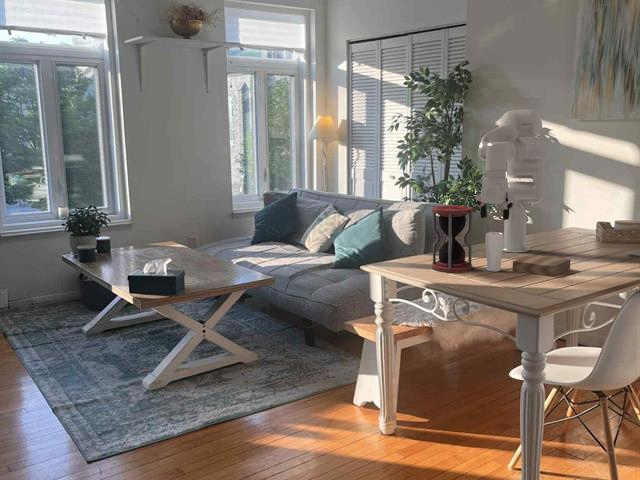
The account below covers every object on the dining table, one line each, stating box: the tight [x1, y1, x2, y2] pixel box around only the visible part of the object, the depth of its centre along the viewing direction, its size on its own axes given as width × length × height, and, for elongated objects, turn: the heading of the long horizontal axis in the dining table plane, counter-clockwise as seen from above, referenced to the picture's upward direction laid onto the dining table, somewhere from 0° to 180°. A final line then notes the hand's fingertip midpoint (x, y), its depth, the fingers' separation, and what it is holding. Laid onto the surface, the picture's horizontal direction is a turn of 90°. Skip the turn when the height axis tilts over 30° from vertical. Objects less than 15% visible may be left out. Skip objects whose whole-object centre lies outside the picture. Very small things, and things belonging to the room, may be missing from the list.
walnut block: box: [512, 254, 571, 277], centre depth 248 cm, size 16×16×4 cm
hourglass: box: [431, 204, 474, 273], centre depth 253 cm, size 16×16×25 cm
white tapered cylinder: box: [485, 231, 504, 273], centre depth 249 cm, size 7×7×15 cm
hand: (494, 218), depth 246 cm, fingers open, 9 cm apart
